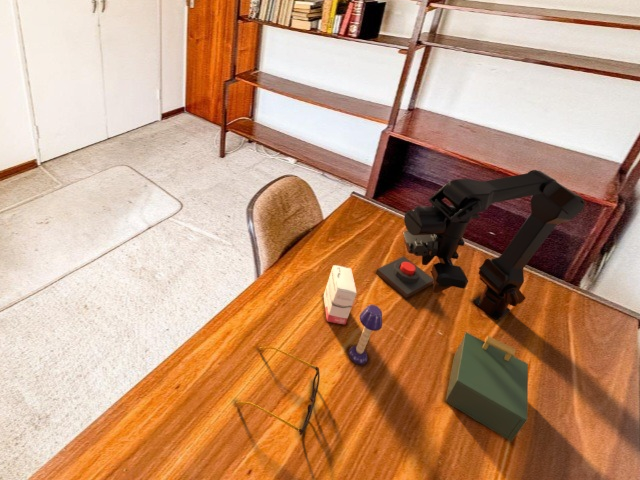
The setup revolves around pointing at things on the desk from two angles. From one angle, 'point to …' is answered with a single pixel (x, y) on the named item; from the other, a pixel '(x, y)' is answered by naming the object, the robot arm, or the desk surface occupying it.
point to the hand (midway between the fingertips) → (429, 278)
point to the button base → (404, 278)
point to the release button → (407, 268)
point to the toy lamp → (366, 332)
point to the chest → (480, 406)
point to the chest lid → (494, 374)
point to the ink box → (339, 294)
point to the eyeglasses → (310, 407)
